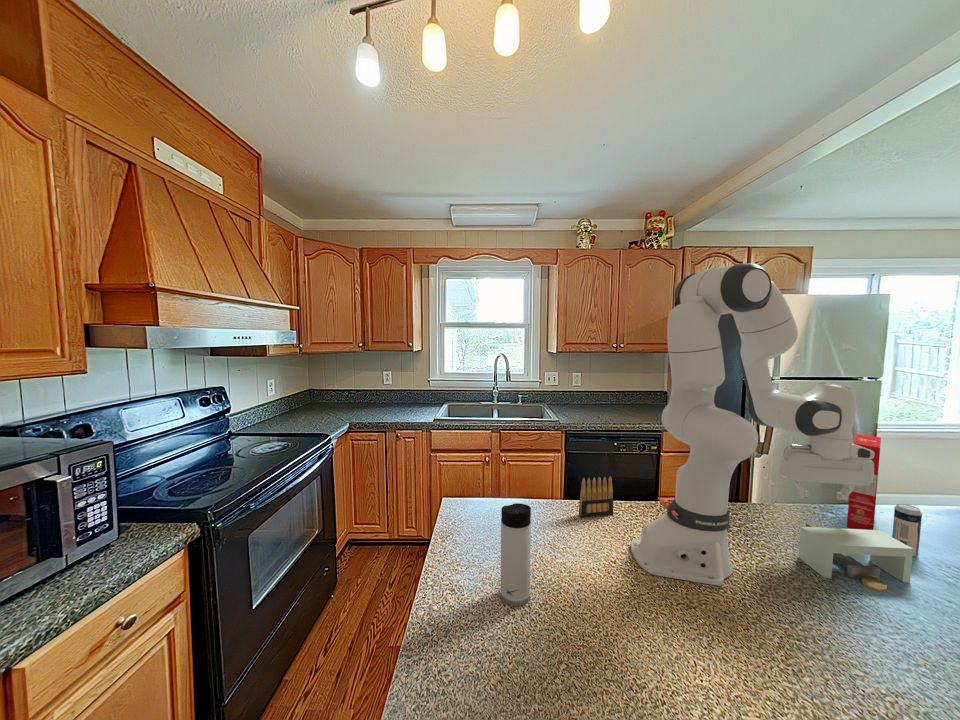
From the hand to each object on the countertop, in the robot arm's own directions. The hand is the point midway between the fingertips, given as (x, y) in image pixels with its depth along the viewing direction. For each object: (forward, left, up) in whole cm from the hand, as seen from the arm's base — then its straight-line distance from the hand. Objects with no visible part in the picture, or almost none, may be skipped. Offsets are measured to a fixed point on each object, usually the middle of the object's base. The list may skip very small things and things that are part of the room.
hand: (822, 498), depth 98 cm
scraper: (+1, -4, -14) cm, 14 cm away
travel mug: (-79, -26, -14) cm, 84 cm away
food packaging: (+23, +16, -14) cm, 31 cm away
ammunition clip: (-54, +13, -14) cm, 58 cm away
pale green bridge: (+1, -9, -13) cm, 16 cm away
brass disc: (+1, -14, -14) cm, 20 cm away
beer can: (+21, 0, -14) cm, 25 cm away
